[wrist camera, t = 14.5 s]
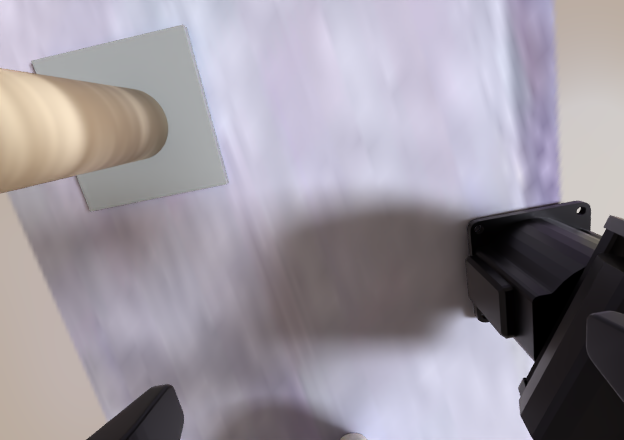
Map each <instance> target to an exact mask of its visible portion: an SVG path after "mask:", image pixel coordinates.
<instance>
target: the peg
mask: <svg viewBox="0 0 624 440" xmlns="http://www.w3.org/2000/svg"><path fill="white" fill-rule="evenodd" d="M167 136H168V122H167V118H166V115H165V113H164V111H163V109H162V107H161V106H160V105H159V103H158V102H157V101H156V100H155V99H154V98H153V97H151V96H150V95H148V94H147V93H145V92H143V91H140V90H136V89H130V88H124V87H118V86H111V85H105V84H98V83H92V82H85V81H79V80H73V79H66V78H60V77H53V76H47V75H41V74H34V73H28V72H21V71H15V70H9V69H2V68H0V193H4V192H9V191H13V190H17V189H21V188H25V187H30V186H34V185H38V184H42V183H47V182H51V181H55V180H59V179H63V178H68V177H72V176H76V175H80V174H84V173H89V172H93V171H97V170H101V169H106V168H110V167H114V166H118V165H122V164H127V163H131V162H135V161H139V160H143V159H147V158H150V157H152V156H154V155H156V154H157V153H158V152H159V151H160V150H161V149H162V148H163V146H164V145H165V143H166V140H167Z"/></svg>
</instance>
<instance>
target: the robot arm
mask: <svg viewBox="0 0 624 440" xmlns="http://www.w3.org/2000/svg"><path fill="white" fill-rule="evenodd" d="M579 207H581V210H580V212H579V213H577V209H578V208H579ZM590 224H591V208H590V205H589V204H587V203H585V202H582V201H572V202H567V203H561V204H556V205H550V206H545V207H540V208H534V209H529V210H523V211H518V212H512V213H507V214H502V215H496V216H491V217H485V218H480V219H475V220H472V221H471V222H470V223H469V224H468V227H467V232H468V244H469V255H470V256H468V257H467V259H466V273H467V284H468V295H469V298H470V299H471V300H472V301H473V303H474V313H475V316H476V317H477V318H478V320H479V321H481V322H490V323H491V324H492V325H493V326H494V328H495V329H496V330H497V331H498V332H499V334H500V335H502V336H503V337H505V338H514V339H515V340H516V341H517V342H518V344H519V345H520V346H521V347H522V348H523V349H524V350H525V351H526V353H527V354H528V355H529V356H530V357H531V358H532V359H533V360H534V362H535V363H534V365H533V367H532V368H531V370H530V372H529V374H528V376H527V378H523V380H522V381H521V383H520V385H519V387H518V389H519V392H520V396H521V397H520V399H519V406H520V415H521V417H522V419H523V421H524V423H525V425H526V427H527V429H528V431H529V433H530V435H531V437H532V438H533V440H624V219H622V218H619V217H615V216H611V215H610V216H609V218H608V220H607V222H606V224H605V225H604V228H606V230H605V232H604V234H603V236H600V235H598V234H596V233H594V232H591V231H590V226H591V225H590ZM479 225H480V226H481V228H480V230H479V231H477V232H475V228H476V227H477V226H479ZM482 313H483V315H482ZM183 424H184V414H183V410H182V408H181V405H180V403H179V400H178V397H177V395H176V392H175V390H174V388H173V386H172V385H170V384H165V385H159V386H154V387H151V388H150V389H149V390H147V391H146V392H145V393H144V394H142V395H141V396H140V397H139V398H137V399H136V400H135V401H134V402H132V403H131V404H130V405H129V406H127V407H126V408H125V409H124V410H123V411H121V412H120V413H119V414H118V415H116V416H115V417H114V418H113V419H111V420H110V421H109V422H108V423H106V424H105V425H104V426H103V427H102V428H100V429H99V430H98V431H96V432H95V433H94V434H93V435H92V436H91V437H89V438H88V439H87V440H180V438H181V433H182V429H183Z"/></svg>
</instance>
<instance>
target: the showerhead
mask: <svg viewBox="0 0 624 440" xmlns="http://www.w3.org/2000/svg"><path fill="white" fill-rule="evenodd" d="M340 440H367V439H366V437H364V436H363V435H361V434H357V433H350V434H347V435H345V436H343V437H342V438H341V439H340Z"/></svg>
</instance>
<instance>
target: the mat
mask: <svg viewBox="0 0 624 440" xmlns="http://www.w3.org/2000/svg"><path fill="white" fill-rule="evenodd" d="M32 64H33V67H34V69H35V72H36V74H41V75H47V76H53V77H60V78H66V79H73V80H79V81H85V82H92V83H98V84H105V85H111V86H118V87H124V88H130V89H136V90H140V91H143V92H145V93H147V94H148V95H150V96H151V97H153V98H154V99H155V100H156V101H157V102H158V103H159V105H160V106H161V107H162V109H163V111H164V113H165V115H166V118H167V122H168V136H167V140H166V143H165V145H164V146H163V148H162V149H161V150H160V151H159V152H158V153H157V154H156V155H154V156H152V157H150V158H147V159H143V160H139V161H135V162H131V163H127V164H122V165H118V166H114V167H110V168H106V169H101V170H97V171H93V172H89V173H84V174H80V175H76V176H77V179H78V181H79V184H80V187H81V189H82V192H83V194H84V197H85V199H86V202H87V204H88V207H89V210H90V212H91V211H96V210H101V209H106V208H111V207H116V206H121V205H126V204H131V203H136V202H141V201H146V200H151V199H156V198H161V197H166V196H171V195H176V194H181V193H186V192H191V191H196V190H201V189H206V188H210V187H215V186H220V185H225V184H228V183H229V182H228V178H227V174H226V171H225V167H224V163H223V159H222V156H221V152H220V148H219V145H218V141H217V137H216V134H215V130H214V126H213V123H212V119H211V115H210V112H209V108H208V104H207V101H206V97H205V93H204V90H203V86H202V82H201V79H200V75H199V71H198V68H197V64H196V60H195V56H194V53H193V49H192V45H191V42H190V38H189V34H188V31H187V27H185V26H184V25H180V26H176V27H171V28H167V29H163V30H159V31H155V32H150V33H146V34H142V35H138V36H134V37H129V38H125V39H121V40H117V41H113V42H108V43H104V44H100V45H96V46H92V47H88V48H83V49H79V50H75V51H71V52H67V53H62V54H58V55H54V56H50V57H46V58H41V59H37V60H33V61H32Z"/></svg>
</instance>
